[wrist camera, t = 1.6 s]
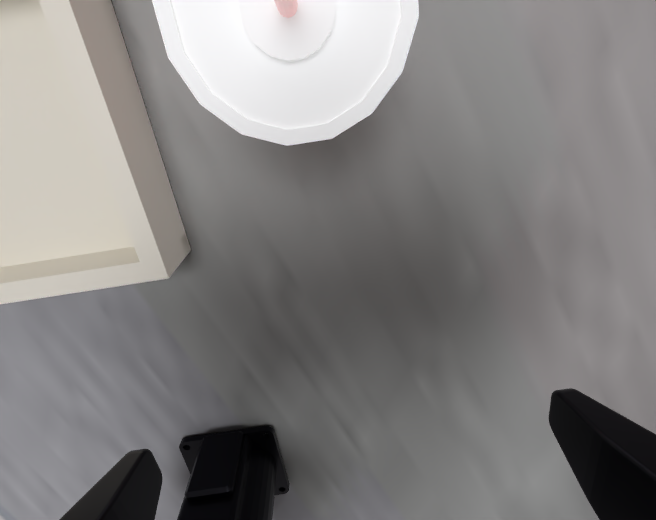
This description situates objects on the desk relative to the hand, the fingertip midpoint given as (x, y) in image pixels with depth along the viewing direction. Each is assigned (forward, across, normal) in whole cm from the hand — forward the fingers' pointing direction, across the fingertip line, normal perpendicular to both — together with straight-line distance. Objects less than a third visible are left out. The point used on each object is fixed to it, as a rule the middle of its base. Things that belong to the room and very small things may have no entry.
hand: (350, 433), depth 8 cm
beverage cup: (+13, 0, -9) cm, 16 cm away
